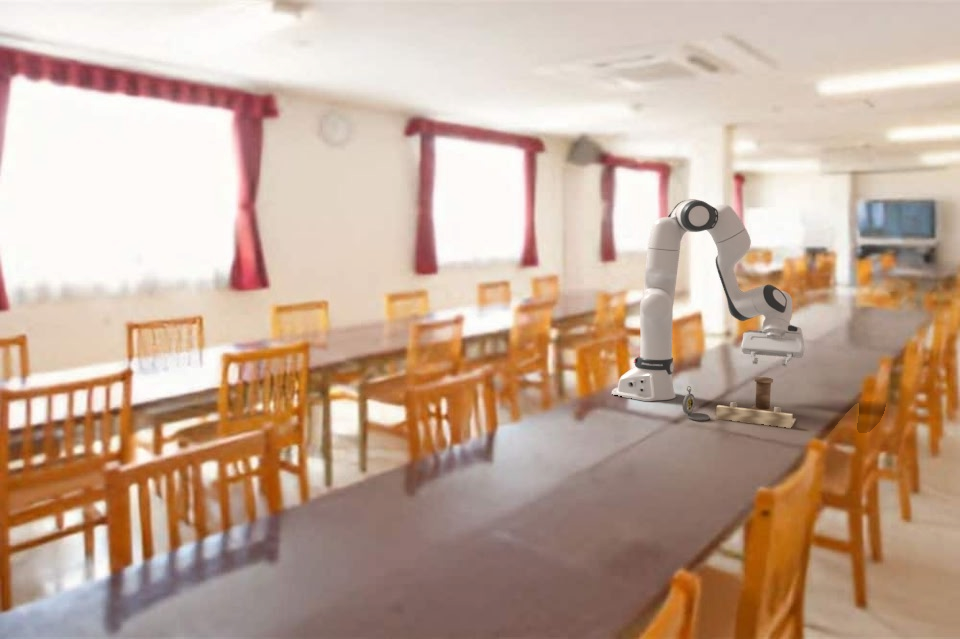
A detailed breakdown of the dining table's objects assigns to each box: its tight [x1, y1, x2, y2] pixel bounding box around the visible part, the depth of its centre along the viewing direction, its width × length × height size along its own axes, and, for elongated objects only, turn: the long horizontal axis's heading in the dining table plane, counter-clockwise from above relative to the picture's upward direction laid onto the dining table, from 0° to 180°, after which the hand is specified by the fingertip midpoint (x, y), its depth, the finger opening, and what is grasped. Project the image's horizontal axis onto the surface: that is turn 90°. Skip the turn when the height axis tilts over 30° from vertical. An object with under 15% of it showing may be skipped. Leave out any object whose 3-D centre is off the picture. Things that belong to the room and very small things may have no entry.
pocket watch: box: [682, 385, 711, 422], centre depth 225 cm, size 8×8×10 cm
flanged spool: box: [750, 376, 774, 412], centre depth 232 cm, size 7×7×11 cm
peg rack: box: [715, 401, 797, 429], centre depth 222 cm, size 22×10×5 cm, turn 59°
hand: (769, 364), depth 240 cm, fingers open, 8 cm apart
